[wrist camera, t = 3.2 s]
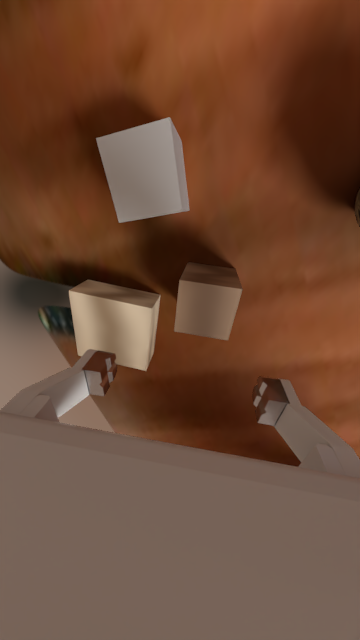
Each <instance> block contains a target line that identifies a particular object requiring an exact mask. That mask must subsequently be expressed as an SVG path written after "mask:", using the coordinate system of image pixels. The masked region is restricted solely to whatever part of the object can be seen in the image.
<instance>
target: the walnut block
mask: <svg viewBox="0 0 360 640" xmlns="http://www.w3.org/2000/svg"><path fill="white" fill-rule="evenodd" d="M241 293H242V286H241V283H240V281H239V278H238V275H237V272H236V269H235V268H228V267H221V266H214V265H206V264H199V263H192V262H188V263H187V265H186V267H185V269H184V271H183V273H182V276H181V278H180V280H179V289H178V299H177V308H176V318H175V328H174V331H175V332H181V333H187V334H193V335H199V336H204V337H210V338H216V339H222V340H228V339H229V335H230V332H231V328H232V325H233V321H234V318H235V314H236V311H237V307H238V303H239V300H240V296H241Z"/></svg>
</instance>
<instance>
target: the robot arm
mask: <svg viewBox="0 0 360 640" xmlns="http://www.w3.org/2000/svg"><path fill="white" fill-rule="evenodd" d="M115 360H116V354H115V353H111V352H105V351H100V350H93V349H89V350H87V351H86V352H85V353H84V354H83V356H82V357H81V358H80V359H79V360H78V361H77V362H76V364H75V365H74V366H73V367H72V368H68V369H66V370H63V371H61V372H59V373H57V374H55V375H52V376H50V377H48V378H46V379H44V380H42V381H40V382H38V383H35V384H33V385H31V386H29V387H27V388H25V389H22V390H21V391H20V392H19V393H18V394H17V395H16V396H15V397H14V398H12V399H11V400H10V401H9V402H8V403H7V404H6V405H5V406H4V407H3V408H2V409H1V410H0V640H360V460H359V458H358V456H357V455H356V453H355V451H354V450H353V448H351V447H350V446H349V445H348V444H347V443H346V442H345V441H343V440H342V439H341V438H340V437H339V436H338V435H337V434H335V433H334V432H333V431H332V430H331V429H330V428H329V427H327V426H326V425H325V424H324V423H323V422H322V421H321V420H319V419H318V418H317V417H316V416H315V415H314V414H313V413H311V412H310V411H309V410H308V409H307V408H306V407H304V406H301V403H300V401H299V399H298V397H297V395H296V393H295V391H294V389H293V387H292V385H291V382H290V381H289V380H286V379H278V378H271V377H264V376H259V377H258V379H257V385H256V386H254V389H253V394H252V399H253V404H254V405H255V406H256V407H257V408H256V410H255V413H256V417H257V422H258V423H261V424H266V425H271V426H274V427H275V429H276V430H277V431H278V432H279V434H280V435H281V436H282V438H283V439H284V440H285V442H286V443H287V444H288V446H289V447H290V448H291V450H292V451H293V452H294V454H295V455H296V456H297V458H298V459H299V460H300V462H301V464H300V465H299V466H298V467H296V466H291V465H286V464H280V463H275V462H269V461H264V460H259V459H253V458H248V457H242V456H237V455H232V454H226V453H221V452H215V451H210V450H205V449H199V448H194V447H188V446H183V445H178V444H172V443H167V442H161V441H156V440H151V439H145V438H140V437H135V436H129V435H124V434H118V433H113V432H108V431H102V430H97V429H92V428H86V427H81V426H75V425H70V424H65V423H60V422H59V420H58V417H60V416H61V415H63V414H64V413H65V412H67V411H68V410H69V409H71V408H72V407H74V406H75V405H76V404H78V403H79V402H80V401H82V400H83V399H84V398H86V397H87V396H89V394H92V395H99V396H105V394H106V392H107V391H108V389H109V387H110V385H109V383H110V382H111V381H113V380H114V378H115V376H116V372H117V364H116V363H115V362H114V361H115Z"/></svg>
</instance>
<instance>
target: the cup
mask: <svg viewBox="0 0 360 640" xmlns="http://www.w3.org/2000/svg"><path fill="white" fill-rule="evenodd" d="M355 216H356V220H357V223H358V225H359V227H360V187H359V189H358V191H357V193H356V196H355Z"/></svg>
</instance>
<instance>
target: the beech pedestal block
mask: <svg viewBox="0 0 360 640" xmlns="http://www.w3.org/2000/svg"><path fill="white" fill-rule="evenodd" d="M69 297H70V303H71V311H72V318H73V324H74V331H75V338H76V345H77V351H78V355H79V356H83V354H84V353H85V352H86V351H87V350H89V349H93V350H100V351H105V352H111V353H115V354H116V360H115V361H114V362H115V363H116V364H118V365H122V366H126V367H131V368H135V369H139V370H144V371H146V370H147V368H148V365H149V363H150V360H151V358H152V356H153V353H154V347H155V338H156V330H157V321H158V312H159V304H160V295H159V294H155V293H150V292H145V291H140V290H135V289H131V288H126V287H121V286H116V285H112V284H107V283H102V282H97V281H93V280H86V281H84V282H83V283H81V284H79V285H77V286H76V287H74V288H72V289H70V290H69Z"/></svg>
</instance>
